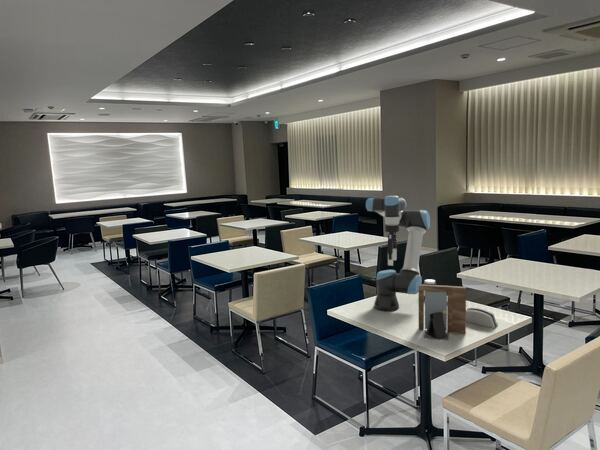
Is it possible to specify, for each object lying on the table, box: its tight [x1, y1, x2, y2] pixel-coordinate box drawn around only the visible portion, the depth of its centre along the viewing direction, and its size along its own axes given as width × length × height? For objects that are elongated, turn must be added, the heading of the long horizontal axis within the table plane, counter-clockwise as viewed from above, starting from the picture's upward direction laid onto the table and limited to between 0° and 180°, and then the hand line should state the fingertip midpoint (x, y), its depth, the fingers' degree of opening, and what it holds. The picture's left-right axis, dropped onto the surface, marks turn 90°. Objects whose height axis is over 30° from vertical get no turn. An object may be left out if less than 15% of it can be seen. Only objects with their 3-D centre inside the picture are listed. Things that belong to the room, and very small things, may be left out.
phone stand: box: [426, 312, 447, 340], centre depth 228 cm, size 9×6×12 cm, turn 21°
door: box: [424, 290, 447, 332], centre depth 234 cm, size 11×3×21 cm, turn 70°
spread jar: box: [423, 278, 437, 299], centre depth 292 cm, size 12×11×12 cm
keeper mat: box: [423, 330, 450, 341], centre depth 229 cm, size 9×12×1 cm
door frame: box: [418, 283, 467, 335], centre depth 234 cm, size 2×24×24 cm, turn 70°
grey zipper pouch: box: [466, 307, 499, 329], centre depth 244 cm, size 17×5×10 cm, turn 41°
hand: (392, 262), depth 245 cm, fingers open, 13 cm apart
